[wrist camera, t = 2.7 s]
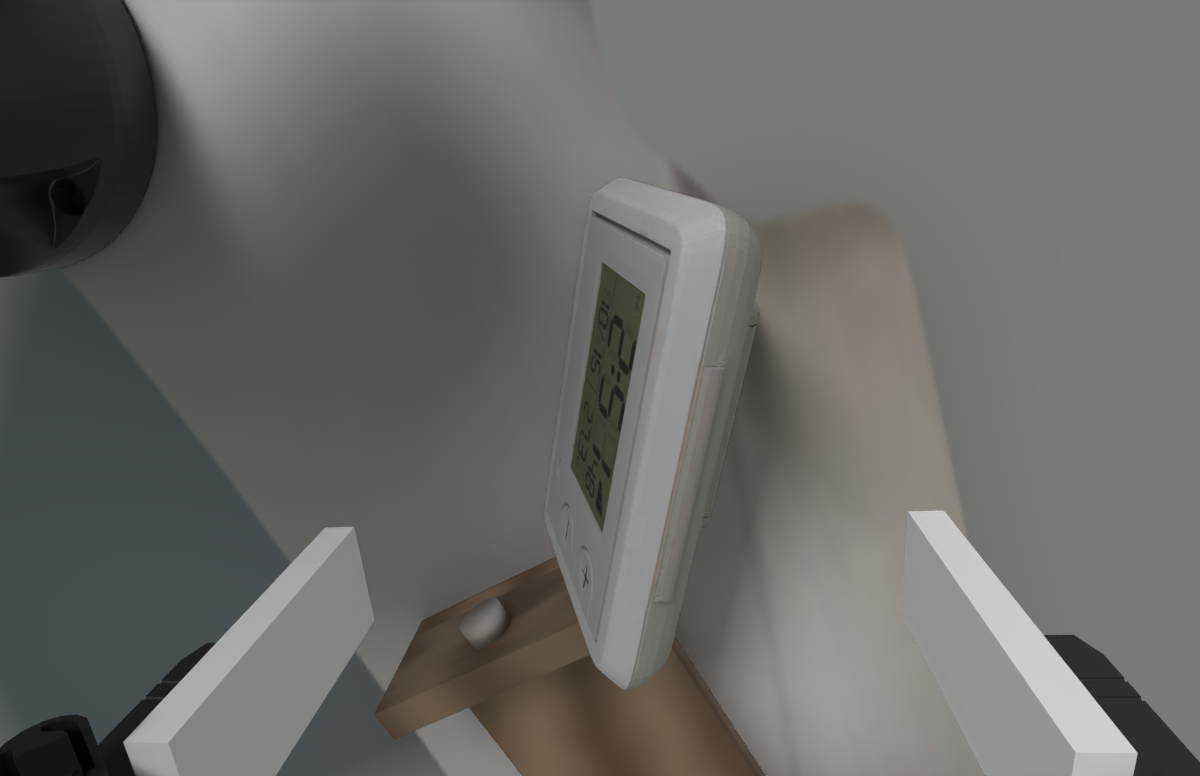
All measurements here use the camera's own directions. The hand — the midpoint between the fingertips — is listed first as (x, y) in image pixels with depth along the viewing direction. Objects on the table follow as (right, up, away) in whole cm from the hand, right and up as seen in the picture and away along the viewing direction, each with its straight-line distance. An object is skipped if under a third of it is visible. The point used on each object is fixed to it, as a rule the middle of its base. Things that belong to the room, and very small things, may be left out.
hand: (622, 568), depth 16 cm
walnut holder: (+1, -14, +20) cm, 24 cm away
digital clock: (+1, +5, +14) cm, 15 cm away
